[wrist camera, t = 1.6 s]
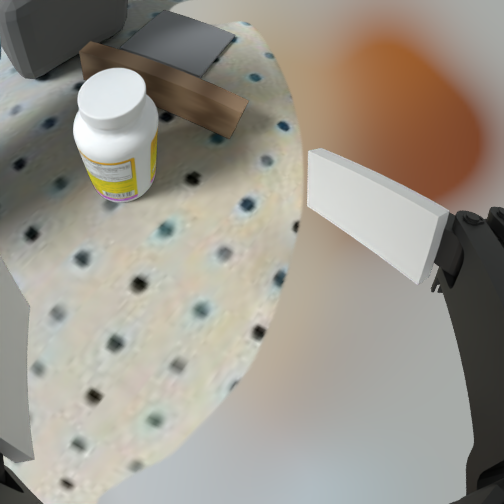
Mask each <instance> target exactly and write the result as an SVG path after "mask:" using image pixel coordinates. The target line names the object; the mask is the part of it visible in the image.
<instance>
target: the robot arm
mask: <svg viewBox="0 0 504 504" xmlns="http://www.w3.org/2000/svg"><path fill="white" fill-rule="evenodd" d="M0 59H1V40H0ZM307 206H308V207H309V208H311V209H313V210H314V211H315V212H317V213H318V214H320V215H322V216H323V217H324V218H326V219H327V220H329V221H330V222H332V223H333V224H335V225H336V226H338V227H339V228H340V229H342V230H343V231H345V232H346V233H348V234H349V235H350V236H352V237H353V238H355V239H356V240H357V241H359V242H361V243H362V244H363V245H364V246H366V247H367V248H369V249H370V250H371V251H373V252H374V253H376V254H377V255H378V256H380V257H381V258H382V259H384V260H385V261H386V262H388V263H389V264H390V265H392V266H393V267H394V268H396V269H397V270H399V271H400V272H401V273H402V274H404V275H405V276H406V277H408V278H409V279H410V280H412V281H413V282H414V283H415V284H417V285H419V284H420V283H421V282H423V281H424V280H425V279H427V278H428V277H429V276H430V273H431V270H432V267H433V264H434V263H435V264H436V265H438V266H439V269H438V272H437V274H436V277H435V280H434V282H433V285H432V287H431V292H434V291H435V289H436V286H437V285H439V284H440V287H439V289H438V293H443V295H444V298H445V301H446V304H447V307H448V311H449V314H450V318H451V321H452V325H453V329H454V332H455V336H456V340H457V344H458V348H459V352H460V356H461V361H462V366H463V370H464V375H465V380H466V386H467V391H468V397H469V403H470V410H471V417H472V424H473V432H474V446H473V448H472V450H471V453H470V455H469V457H468V460H467V465H466V496H465V497H463V498H461V499H460V500H458V501H456V502H452V503H450V504H504V208H501V207H491V208H490V210H489V214H488V217H487V219H483V218H482V217H481V216H479V215H477V214H475V213H472V212H469V211H459V212H457V214H456V216H455V215H453V214H451V213H450V211H449V210H447V209H446V208H444V207H442V206H441V205H439V204H437V203H435V202H433V201H431V200H430V199H428V198H426V197H424V196H422V195H421V194H418V193H417V192H415V191H413V190H411V189H409V188H407V187H405V186H403V185H401V184H399V183H397V182H395V181H393V180H391V179H389V178H387V177H385V176H383V175H381V174H379V173H377V172H375V171H373V170H371V169H368V168H366V167H364V166H362V165H360V164H358V163H355V162H353V161H351V160H349V159H346V158H344V157H342V156H339V155H337V154H335V153H332V152H330V151H327V150H325V149H323V148H319V149H314V150H309V151H308V194H307ZM29 313H30V305H29V304H28V302H27V301H26V299H25V297H24V296H23V294H22V292H21V291H20V289H19V287H18V286H17V284H16V282H15V281H14V279H13V277H12V275H11V273H10V272H9V270H8V268H7V266H6V264H5V263H4V261H3V259H2V257H1V255H0V504H43V503H42V502H41V501H40V500H39V499H38V498H37V497H36V496H35V495H34V494H33V493H32V492H31V491H30V490H29V489H28V488H27V487H26V486H25V485H24V484H23V483H22V481H21V480H20V479H19V478H18V477H17V476H16V475H15V474H14V472H13V471H12V470H11V469H9V468H8V467H7V466H5V465H4V461H3V456H5V457H7V458H8V459H10V460H12V461H13V462H15V463H19V462H25V461H30V460H35V458H34V452H33V445H32V438H31V429H30V419H29V406H28V387H27V346H28V326H29Z"/></svg>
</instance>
